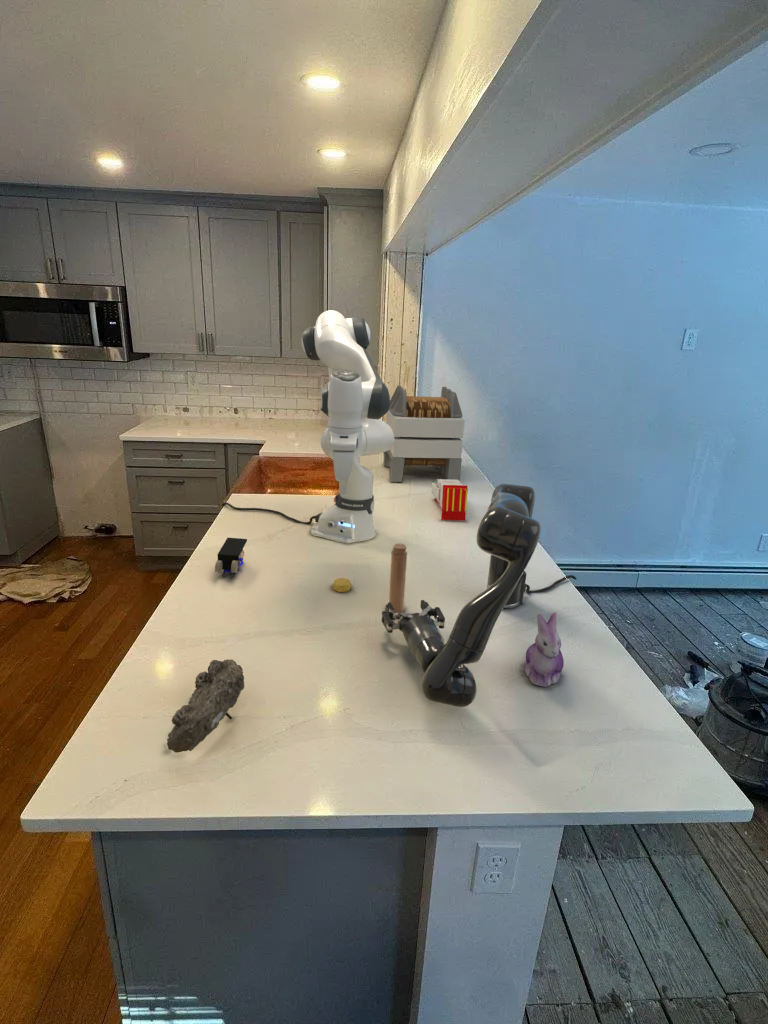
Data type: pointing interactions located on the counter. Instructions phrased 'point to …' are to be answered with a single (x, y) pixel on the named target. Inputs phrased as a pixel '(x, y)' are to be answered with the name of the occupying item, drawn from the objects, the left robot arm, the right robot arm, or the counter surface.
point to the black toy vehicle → (230, 556)
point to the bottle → (398, 576)
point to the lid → (341, 585)
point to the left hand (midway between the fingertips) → (343, 488)
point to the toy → (451, 498)
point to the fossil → (206, 705)
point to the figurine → (545, 653)
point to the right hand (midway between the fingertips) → (405, 604)
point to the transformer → (425, 433)
